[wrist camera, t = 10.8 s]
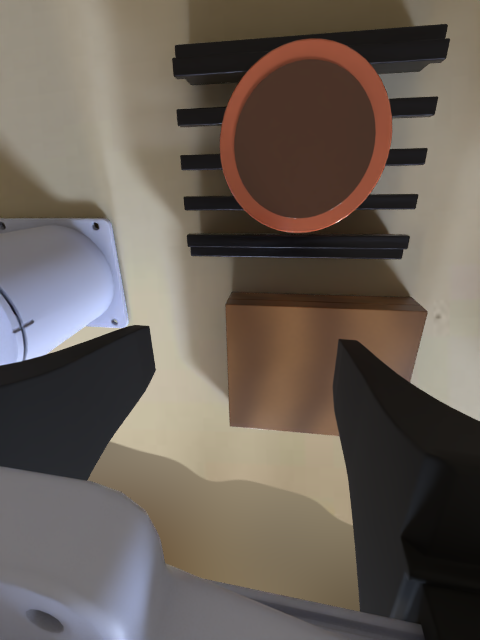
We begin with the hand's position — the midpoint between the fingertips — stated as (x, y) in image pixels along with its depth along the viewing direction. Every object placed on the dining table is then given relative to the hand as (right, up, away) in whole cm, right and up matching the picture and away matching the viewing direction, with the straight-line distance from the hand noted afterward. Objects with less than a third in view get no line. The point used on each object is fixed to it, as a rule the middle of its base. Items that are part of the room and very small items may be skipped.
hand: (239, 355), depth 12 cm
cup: (+3, +9, +4) cm, 10 cm away
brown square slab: (+5, -1, +11) cm, 13 cm away
